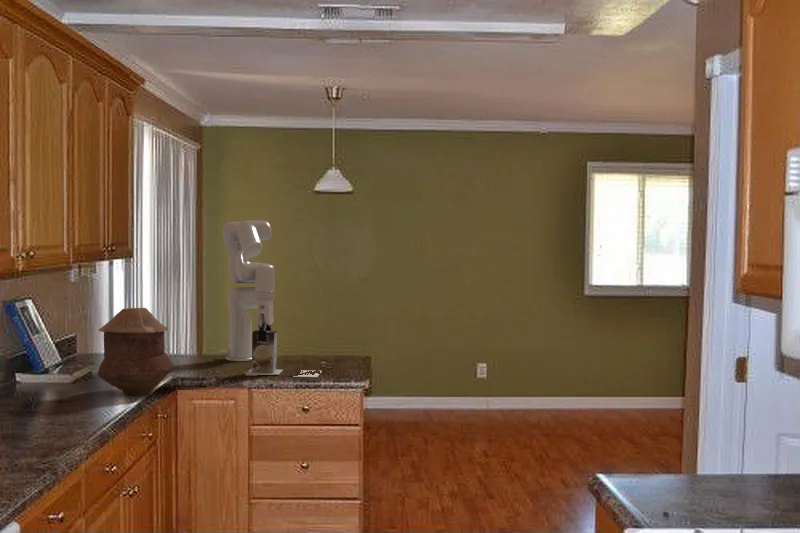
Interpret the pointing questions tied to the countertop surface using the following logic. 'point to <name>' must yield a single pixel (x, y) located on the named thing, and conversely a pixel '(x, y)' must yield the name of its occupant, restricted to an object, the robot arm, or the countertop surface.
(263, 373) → the green pad
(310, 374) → the card
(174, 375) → the countertop surface
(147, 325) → the pottery vessel
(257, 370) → the coffee box
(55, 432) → the countertop surface
